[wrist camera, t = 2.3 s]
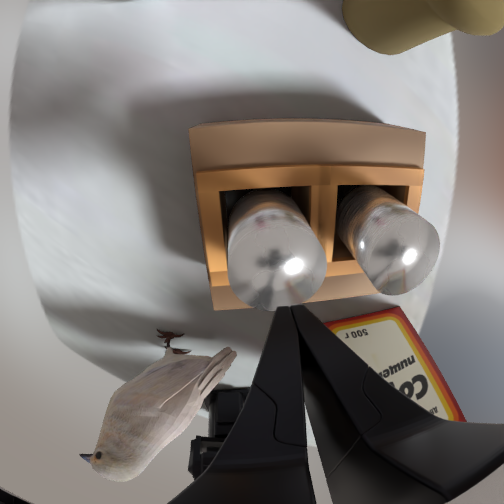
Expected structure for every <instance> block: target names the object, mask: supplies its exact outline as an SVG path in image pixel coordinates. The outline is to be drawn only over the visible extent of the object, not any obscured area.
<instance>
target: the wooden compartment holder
mask: <svg viewBox="0 0 504 504" xmlns="http://www.w3.org/2000/svg"><path fill="white" fill-rule="evenodd" d="M188 130H189V140H190V149H191V159H192V167H193V176H194V184H195V192H196V200H197V207H198V214H199V222H200V228H201V235H202V242H203V248H204V255H205V261H206V267H207V273H208V279H209V285H210V291H211V297H212V302H213V308H214V310H230V309H243V308H253V307H251V306H249V305H247V304H245V303H244V302H243V301H241V300H240V299H239V298H238V297H237V296H236V295H235V293H234V292H233V290H232V289H231V287H230V284H229V280H228V235H229V230H228V220H227V209H226V199H225V191H227V190H239V189H253V188H269V187H288V186H291V198H292V199H293V200H294V201H295V203H296V204H297V206H298V207H299V209H300V211H301V212H302V214H303V215H304V217H305V219H306V220H307V222H308V224H309V225H310V227H311V229H312V230H313V232H314V234H315V235H316V237H317V239H318V241H319V242H320V244H321V246H322V247H323V250H324V252H325V255H326V259H327V271H326V275H325V278H324V281H323V283H322V285H321V286H320V288H319V289H318V290H317V292H316V293H315V294H314V295H313V296H312V297H311V298H309V299H308V300H307V301H305V302H303V303H308V302H317V301H325V300H333V299H341V298H349V297H356V296H363V295H370V294H377V293H381V292H379V291H378V290H376V288H375V287H374V286H373V284H372V283H371V281H370V280H369V279H368V277H367V276H366V274H365V273H364V271H363V270H362V268H361V267H360V265H359V264H358V262H357V261H356V260H355V258H354V257H353V255H352V254H351V253H350V251H349V250H348V248H347V247H346V246H345V244H344V243H343V241H342V240H341V239H340V237H339V236H338V234H337V231H336V228H335V220H336V205H337V187H338V185H370V186H376V187H379V188H381V189H382V190H384V191H386V192H387V193H389V194H390V195H392V196H393V197H394V198H396V199H397V200H399V201H400V202H402V203H403V204H405V205H406V206H407V207H409V208H410V209H412V210H413V211H414V212H416V213H417V214H418V212H419V206H420V199H421V193H422V185H423V177H424V169H423V164H424V153H425V138H426V132H422V131H418V130H414V129H409V128H405V127H400V126H395V125H390V124H385V123H376V122H366V121H354V120H339V119H313V118H277V119H251V120H235V121H223V122H212V123H203V124H199V125H196V126H194V127H192V128H189V129H188Z"/></svg>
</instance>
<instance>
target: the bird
mask: <svg viewBox="0 0 504 504" xmlns="http://www.w3.org/2000/svg"><path fill="white" fill-rule="evenodd" d="M157 331H158V332H159V333H161V334H162V335H163V336H158V337H160V338H166V340H165V342H164V343H167V347H165V348H166V349H167V351H166V352H165V355H164V357H163V358H162V359H161V360H159V361H156V362H154V363H153V364H152V365H150V366H149V367H147V368H146V369H145V370H144V371H143V372H142V373H140V374H139V375H138V376H137V377H135V378H133V379H132V380H130V381H129V382H127V383H125V384H124V385H122V386H121V387H120V388H119V389H117V391H115V392H114V394H113V396H112V397H111V399H110V402H109V404H108V407H107V410H106V414H105V417H104V420H103V425H102V428H101V432H100V435H99V439H98V442H97V445H96V448H95V451H94V453H93V454H80V456H81V457H82V458H83V459H84V460H86V461H87V462H89V463H90V464H91V465H92V467H93V469H94V470H95V471H96V472H97V473H98V474H99V475H101V476H103V477H105V478H106V479H110V480H113V481H128V480H130V479H133V478H135V477H136V476H138V475H139V474H141V473H142V472H143V470H144V469H145V468H146V467H147V465H148V464H149V463H150V461H151V460H152V459H153V458H154V457H155V456H156V455H157V454H158V452H160V451H161V450H162V449H163V448H164V447H165V446H166V445H167V444H168V443H169V442H171V441H172V440H173V439H175V438H176V437H177V436H179V435H180V434H181V433H182V432H183V431H184V430H185V429H186V428H187V426H188V425H189V424H190V423H191V421H192V419H193V418H194V416H195V415H196V414H197V412H198V411H199V409H200V408H201V406H202V403H203V400H204V398H205V397H206V396H207V395H208V394H209V393H210V392H211V391H212V389H213V388H214V387H215V386H216V385H217V384H218V383H219V381H220V380H221V379H222V378H223V377H224V375H225V372H226V371H227V370H228V369H229V367H230V366H231V363H232V362H233V360H234V359H235V357H236V356H237V354H236V351H232V350H231V348H230V347H227V348H224V349H223V350H221V351H220V352H219V353H217V354H216V355H215V356H213V357H209V356H196V355H185V354H187V353H189V352H191V351H188V352H184V351H181V350H180V349H174V350H173V349H172V348H171V347H170V340H171V339H173V338H174V337H181V336H183V335H184V334H181V335H176V334H174V333H172V332H161V331H159V330H158V329H157Z"/></svg>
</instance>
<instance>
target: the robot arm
mask: <svg viewBox="0 0 504 504" xmlns="http://www.w3.org/2000/svg"><path fill="white" fill-rule="evenodd" d="M204 401H205V404H206V406H207V409H208V411H209V430H208V433H209V434H208V437H201V436H196V439H194V440H191V451H190V459H189V466H188V471H189V472H190V473H191V474H192V475H193V478H194V482H192V483H191V484H190V485H189V486H188V487H187V488H186V489H184V490H183V491H182V492H181V493H180V494H179V495H177V496H176V497H175V498H173V499H172V500H171V501H170V502H168V503H167V504H316V500H315V495H314V490H313V485H312V480H311V476H310V471H309V465H308V454H307V436H306V419H305V406H306V409H307V413H308V416H309V420H310V423H311V427H312V430H313V434H314V437H315V441H316V444H317V448H318V452H319V455H320V458H321V462H322V466H323V470H324V473H325V477H326V478H327V479H326V481H327V484H328V488H329V491H330V495H331V499H332V502H333V504H504V424H487V423H471V422H460V421H451V420H446V419H442V418H440V417H437V416H435V415H434V414H432V413H430V412H429V411H427V410H426V409H424V408H423V407H422V406H420V405H419V404H417V403H416V402H414V401H413V400H412V399H410V398H409V397H407V396H406V395H404V394H403V393H402V392H400V391H399V390H398V389H396V388H395V387H394V386H392V385H391V384H390V383H389V382H387V381H386V380H385V379H384V378H383V377H382V376H380V375H379V374H378V373H377V372H376V371H375V370H374V369H373V368H371V367H370V366H369V367H368V364H367V363H366V362H365V361H364V360H363V359H362V358H360V357H359V356H358V355H357V354H356V353H355V352H354V351H353V350H352V349H351V348H350V347H348V346H347V345H346V344H345V343H344V342H343V341H342V340H341V339H340V338H339V337H338V336H336V335H335V334H334V333H333V332H332V331H331V330H330V329H329V328H328V327H327V326H326V325H325V324H323V323H322V322H321V321H320V320H319V319H318V318H317V317H316V316H315V315H314V314H313V313H312V312H310V311H309V310H308V309H307V308H306V307H305V306H304V305H302V304H296V305H291V306H290V307H289V306H288V305H287V306H278V307H277V308H276V310H275V314H274V317H273V320H272V323H271V327H270V330H269V333H268V336H267V339H266V342H265V345H264V348H263V351H262V355H261V358H260V361H259V364H258V367H257V370H256V373H255V376H254V379H253V381H252V385H251V387H250V389H243V390H225V391H211V392H210V393H209V394H208V395H207V396H206V397H205V398H204ZM304 402H305V405H304ZM202 452H203V453H202ZM0 504H33V503H31V502H29V501H27V500H25V499H23V498H21V497H19V496H16V495H15V494H13V493H11V492H9V491H7V490H5V489H3V488H2V487H0Z"/></svg>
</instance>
